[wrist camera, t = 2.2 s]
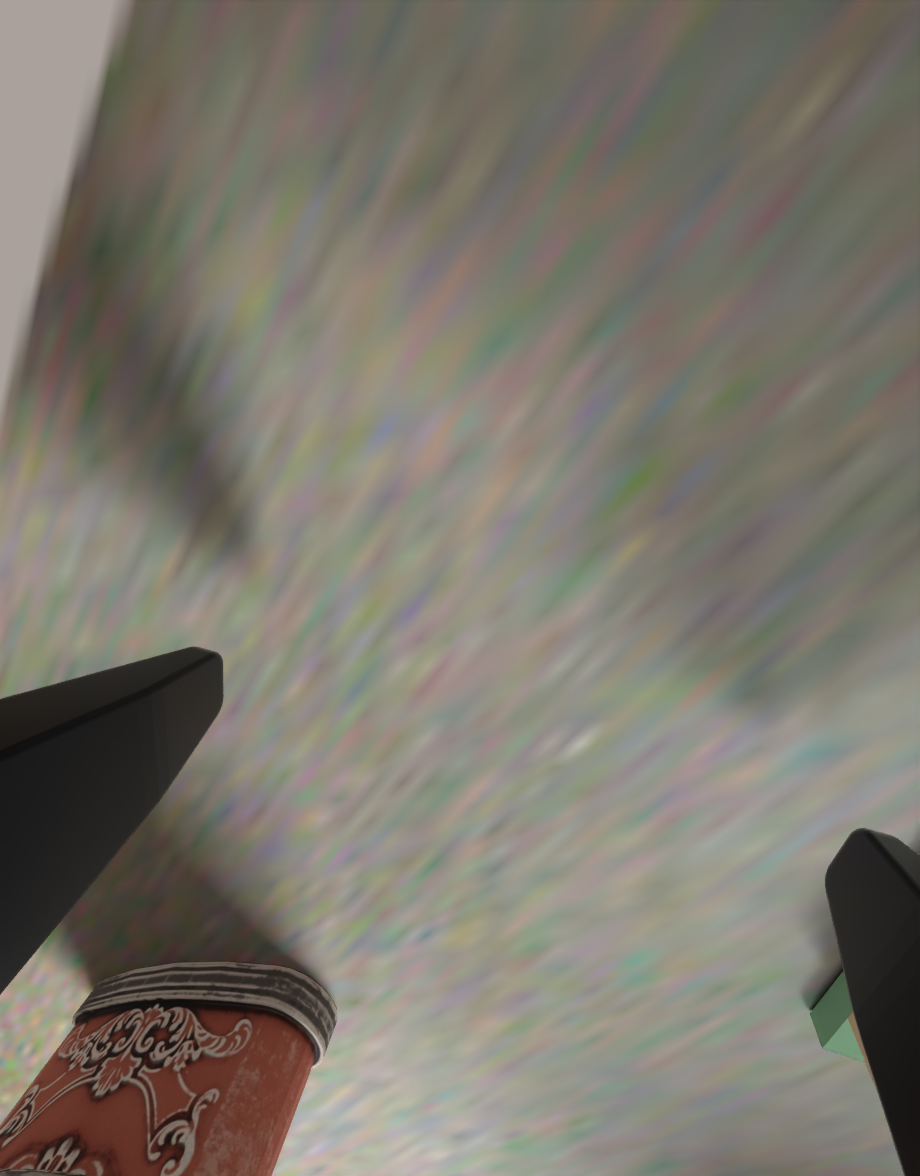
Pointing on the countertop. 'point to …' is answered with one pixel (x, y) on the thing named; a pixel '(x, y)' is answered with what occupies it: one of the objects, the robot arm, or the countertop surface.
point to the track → (838, 1023)
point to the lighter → (174, 1075)
